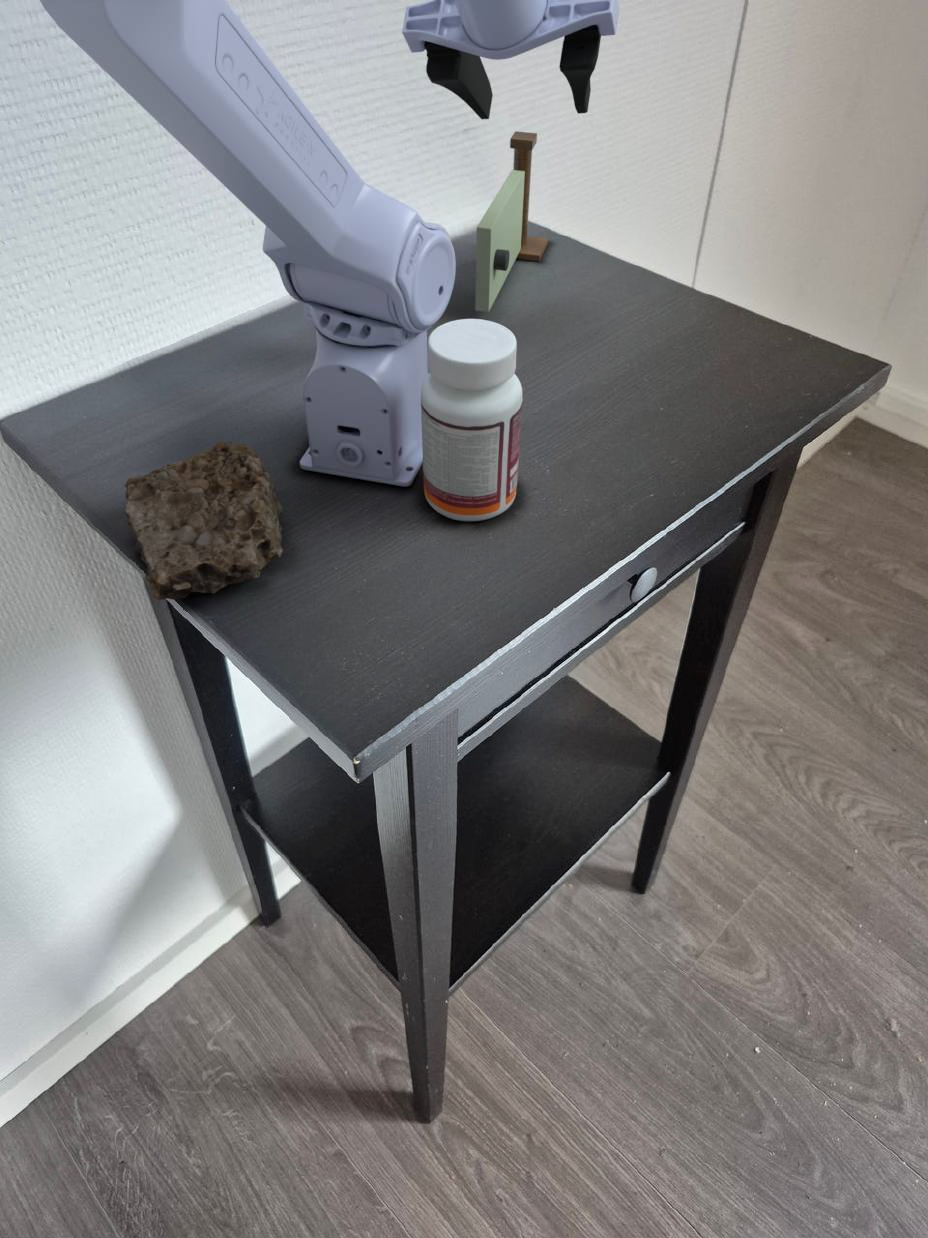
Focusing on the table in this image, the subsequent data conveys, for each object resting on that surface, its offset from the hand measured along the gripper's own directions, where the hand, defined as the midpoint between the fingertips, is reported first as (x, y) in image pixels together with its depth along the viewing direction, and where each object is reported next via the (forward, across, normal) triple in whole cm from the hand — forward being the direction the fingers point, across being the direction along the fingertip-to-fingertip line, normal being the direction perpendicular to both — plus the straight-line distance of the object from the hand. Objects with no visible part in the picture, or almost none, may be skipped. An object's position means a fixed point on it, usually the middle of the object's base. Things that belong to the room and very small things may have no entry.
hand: (534, 104), depth 68 cm
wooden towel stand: (+17, +5, +2) cm, 18 cm away
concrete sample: (-16, +11, +36) cm, 41 cm away
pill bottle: (-5, -2, +32) cm, 33 cm away
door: (+12, +4, +8) cm, 15 cm away
